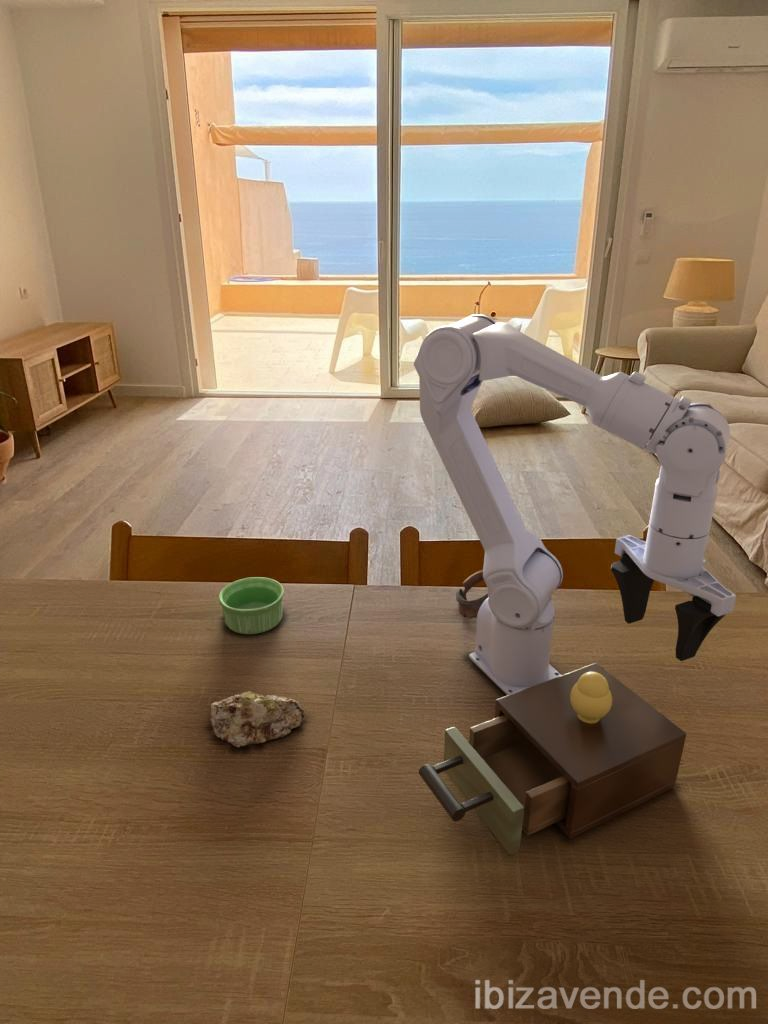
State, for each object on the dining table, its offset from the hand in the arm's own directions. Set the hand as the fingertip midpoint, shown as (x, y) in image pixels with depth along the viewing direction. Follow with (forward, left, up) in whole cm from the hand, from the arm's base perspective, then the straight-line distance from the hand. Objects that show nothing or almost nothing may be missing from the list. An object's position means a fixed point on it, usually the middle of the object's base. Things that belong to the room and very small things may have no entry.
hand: (658, 637), depth 76 cm
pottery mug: (-25, -4, -11) cm, 27 cm away
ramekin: (-40, -35, -11) cm, 54 cm away
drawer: (+3, -22, -9) cm, 24 cm away
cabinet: (+3, -13, -10) cm, 17 cm away
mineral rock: (-19, -41, -11) cm, 46 cm away
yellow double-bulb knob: (+3, -13, -3) cm, 13 cm away
